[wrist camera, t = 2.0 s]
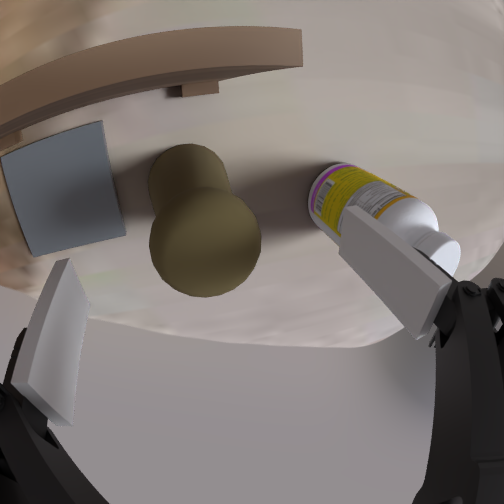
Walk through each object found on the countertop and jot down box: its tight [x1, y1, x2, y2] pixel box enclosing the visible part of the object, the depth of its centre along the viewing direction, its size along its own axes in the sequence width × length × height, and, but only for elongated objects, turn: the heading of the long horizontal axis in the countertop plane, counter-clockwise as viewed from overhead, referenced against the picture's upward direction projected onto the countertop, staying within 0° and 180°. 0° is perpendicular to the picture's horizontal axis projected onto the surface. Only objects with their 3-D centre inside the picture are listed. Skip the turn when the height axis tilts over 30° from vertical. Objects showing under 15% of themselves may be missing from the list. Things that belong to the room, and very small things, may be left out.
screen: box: [0, 26, 303, 151], centre depth 10 cm, size 3×18×13 cm, turn 93°
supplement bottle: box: [308, 163, 460, 276], centre depth 20 cm, size 7×7×13 cm
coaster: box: [0, 121, 126, 257], centre depth 17 cm, size 9×9×1 cm
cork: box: [148, 144, 261, 298], centre depth 16 cm, size 6×6×11 cm
